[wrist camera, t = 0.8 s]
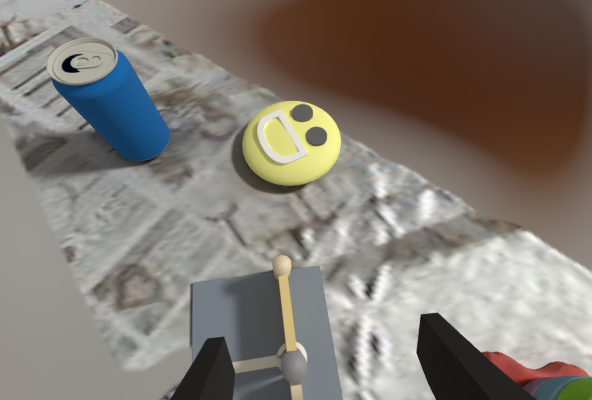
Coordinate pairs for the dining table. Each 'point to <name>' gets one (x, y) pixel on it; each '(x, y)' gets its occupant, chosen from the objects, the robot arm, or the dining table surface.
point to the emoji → (291, 143)
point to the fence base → (296, 391)
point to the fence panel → (288, 325)
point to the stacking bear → (546, 379)
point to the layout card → (268, 332)
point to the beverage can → (109, 97)
